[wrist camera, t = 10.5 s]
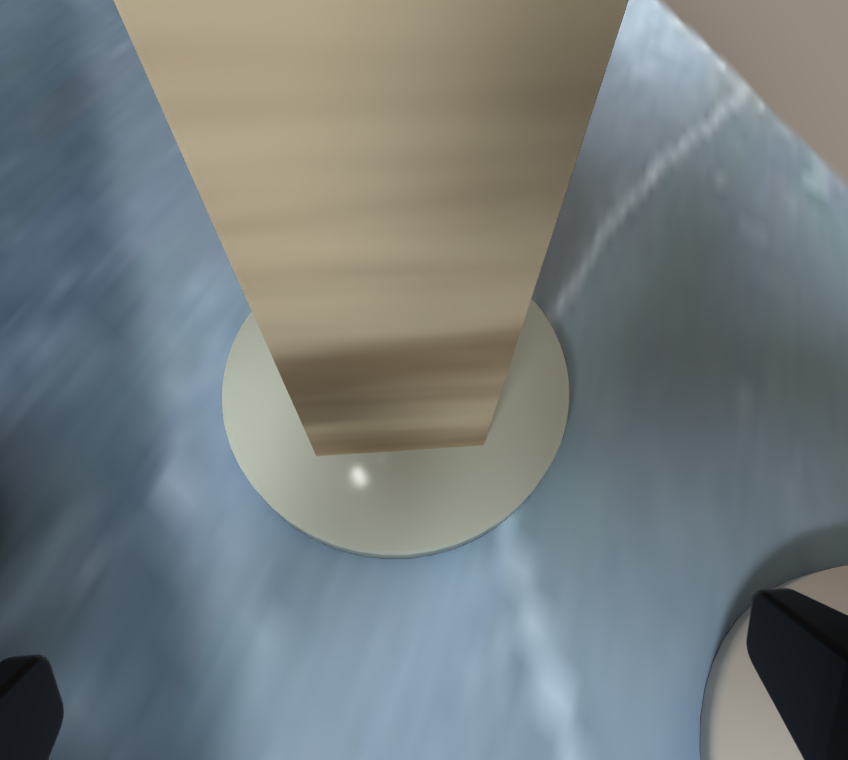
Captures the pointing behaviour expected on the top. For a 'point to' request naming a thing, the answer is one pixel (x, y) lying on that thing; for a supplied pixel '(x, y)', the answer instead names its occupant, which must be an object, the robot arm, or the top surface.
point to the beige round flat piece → (398, 457)
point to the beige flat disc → (755, 686)
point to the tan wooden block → (382, 187)
